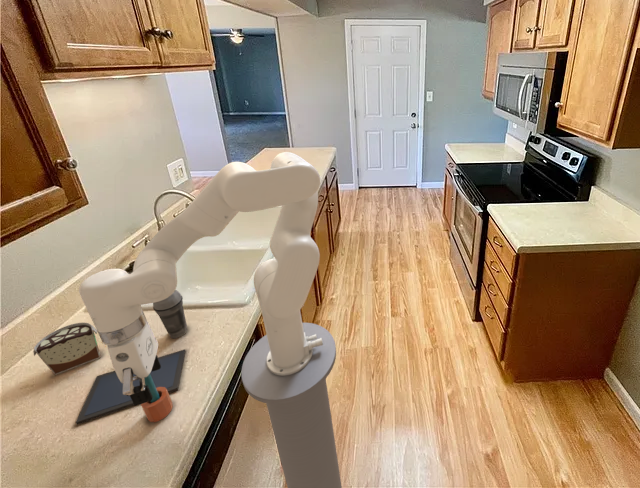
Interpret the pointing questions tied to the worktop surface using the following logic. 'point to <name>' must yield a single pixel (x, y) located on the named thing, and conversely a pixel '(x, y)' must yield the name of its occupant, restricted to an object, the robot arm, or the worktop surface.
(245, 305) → the worktop surface
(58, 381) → the worktop surface
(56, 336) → the food container
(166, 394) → the holder
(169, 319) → the beverage cup
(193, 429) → the worktop surface
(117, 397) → the tablet
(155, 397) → the stylus
